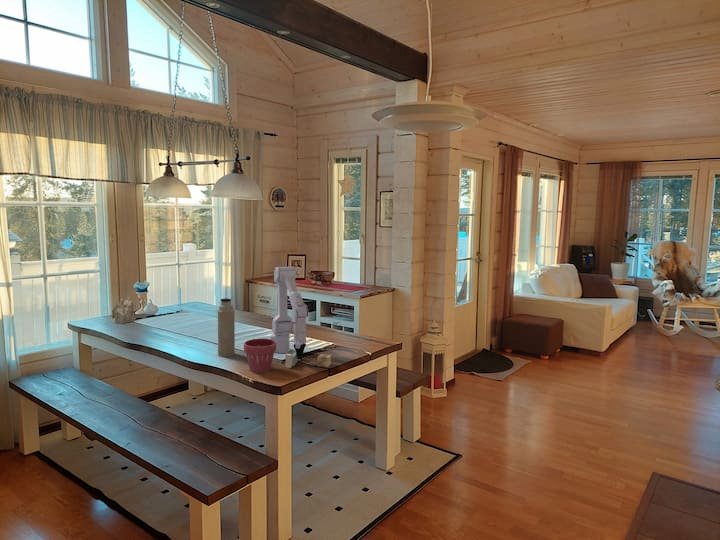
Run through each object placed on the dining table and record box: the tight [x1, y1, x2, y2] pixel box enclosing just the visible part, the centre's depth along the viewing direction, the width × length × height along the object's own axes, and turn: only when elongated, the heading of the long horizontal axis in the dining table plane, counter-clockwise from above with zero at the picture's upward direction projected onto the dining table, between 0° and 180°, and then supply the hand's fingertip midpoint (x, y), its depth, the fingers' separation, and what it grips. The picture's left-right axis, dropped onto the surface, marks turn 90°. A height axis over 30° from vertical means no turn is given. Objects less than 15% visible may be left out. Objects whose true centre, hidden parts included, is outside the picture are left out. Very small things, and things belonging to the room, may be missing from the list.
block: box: [317, 353, 332, 368], centre depth 233 cm, size 5×5×4 cm
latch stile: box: [285, 353, 293, 369], centre depth 231 cm, size 3×7×6 cm, turn 168°
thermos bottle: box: [217, 297, 236, 358], centre depth 243 cm, size 8×8×28 cm
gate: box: [292, 350, 299, 367], centre depth 234 cm, size 9×1×4 cm, turn 175°
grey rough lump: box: [110, 296, 136, 325], centre depth 310 cm, size 16×16×15 cm
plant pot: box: [243, 338, 276, 374], centre depth 223 cm, size 14×14×13 cm
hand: (299, 359), depth 234 cm, fingers closed, pressing on gate
